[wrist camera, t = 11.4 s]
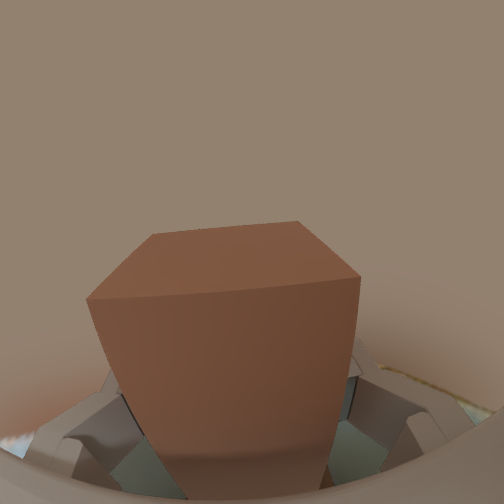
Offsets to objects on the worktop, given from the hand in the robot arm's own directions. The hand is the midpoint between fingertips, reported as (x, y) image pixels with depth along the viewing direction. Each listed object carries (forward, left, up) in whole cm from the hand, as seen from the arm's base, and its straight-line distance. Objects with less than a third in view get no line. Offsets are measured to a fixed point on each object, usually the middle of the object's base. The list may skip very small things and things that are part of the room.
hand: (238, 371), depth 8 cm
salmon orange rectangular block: (0, +1, -6) cm, 6 cm away
